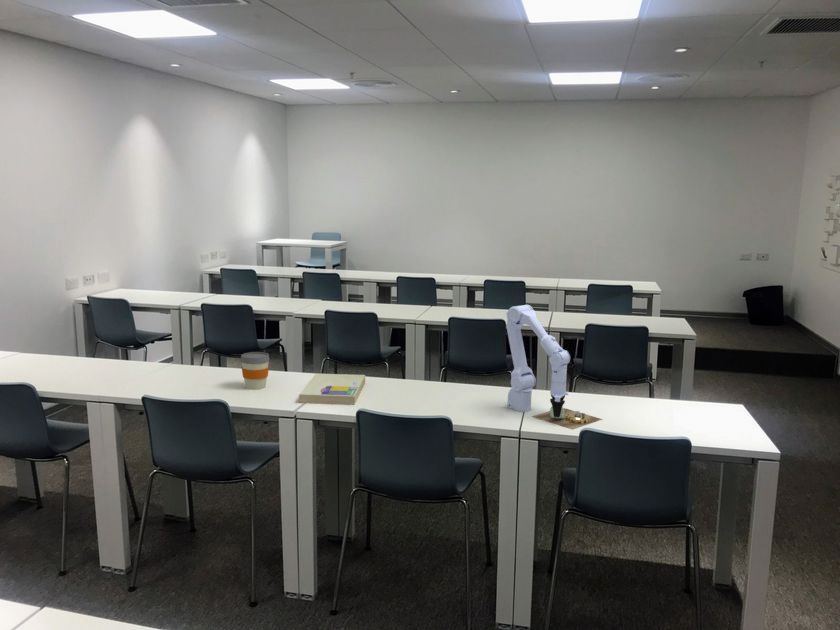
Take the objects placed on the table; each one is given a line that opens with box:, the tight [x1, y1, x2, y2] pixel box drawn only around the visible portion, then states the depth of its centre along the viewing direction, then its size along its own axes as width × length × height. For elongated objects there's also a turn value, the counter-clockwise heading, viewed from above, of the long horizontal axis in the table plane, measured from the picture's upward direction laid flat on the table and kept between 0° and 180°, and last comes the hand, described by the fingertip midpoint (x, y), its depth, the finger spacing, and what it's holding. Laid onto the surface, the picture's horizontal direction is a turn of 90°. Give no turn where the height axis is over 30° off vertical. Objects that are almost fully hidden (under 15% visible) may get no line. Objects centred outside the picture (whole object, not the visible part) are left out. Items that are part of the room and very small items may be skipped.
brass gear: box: [566, 412, 589, 424], centre depth 268 cm, size 9×9×4 cm
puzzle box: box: [298, 373, 366, 406], centre depth 303 cm, size 36×5×24 cm
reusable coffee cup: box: [240, 351, 270, 391], centre depth 309 cm, size 13×13×15 cm
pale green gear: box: [549, 406, 565, 418], centre depth 269 cm, size 6×6×3 cm
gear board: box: [531, 407, 603, 430], centre depth 271 cm, size 20×20×5 cm
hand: (556, 414), depth 269 cm, fingers closed on pale green gear, 6 cm apart
